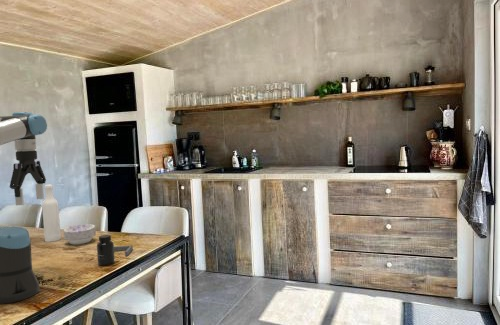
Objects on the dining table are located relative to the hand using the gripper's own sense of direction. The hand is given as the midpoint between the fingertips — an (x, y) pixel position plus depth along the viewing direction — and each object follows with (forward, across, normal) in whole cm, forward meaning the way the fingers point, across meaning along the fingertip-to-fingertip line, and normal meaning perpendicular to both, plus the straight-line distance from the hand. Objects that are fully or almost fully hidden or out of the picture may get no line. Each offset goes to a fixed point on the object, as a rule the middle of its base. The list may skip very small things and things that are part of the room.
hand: (30, 202), depth 159 cm
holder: (+28, +23, -23) cm, 43 cm away
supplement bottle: (+29, +6, -27) cm, 40 cm away
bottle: (+29, +46, +20) cm, 58 cm away
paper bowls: (+29, +41, +2) cm, 50 cm away
